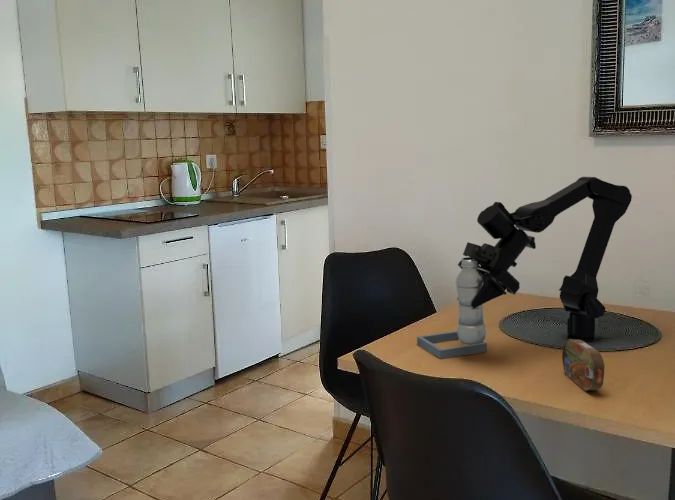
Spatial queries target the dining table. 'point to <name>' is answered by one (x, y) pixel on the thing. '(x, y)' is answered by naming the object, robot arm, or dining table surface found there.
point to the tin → (583, 364)
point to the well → (428, 345)
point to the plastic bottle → (469, 317)
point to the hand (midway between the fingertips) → (465, 303)
